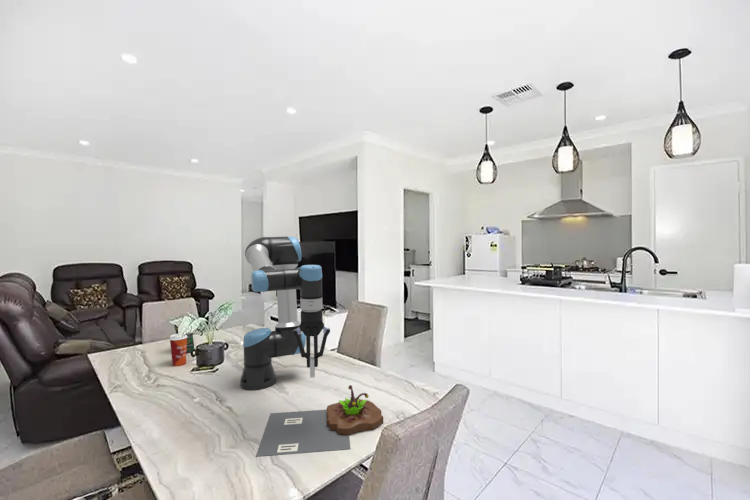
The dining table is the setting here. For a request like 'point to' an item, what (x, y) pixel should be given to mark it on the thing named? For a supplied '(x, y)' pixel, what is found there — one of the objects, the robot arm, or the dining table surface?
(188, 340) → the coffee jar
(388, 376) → the dining table surface
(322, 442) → the label mat
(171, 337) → the coffee cup
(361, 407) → the plant
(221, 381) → the dining table surface
